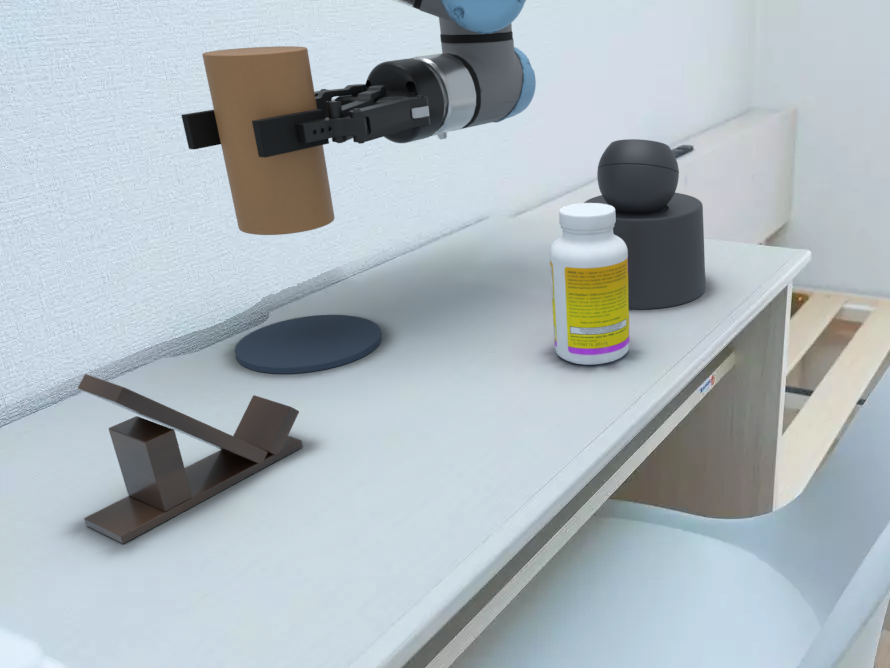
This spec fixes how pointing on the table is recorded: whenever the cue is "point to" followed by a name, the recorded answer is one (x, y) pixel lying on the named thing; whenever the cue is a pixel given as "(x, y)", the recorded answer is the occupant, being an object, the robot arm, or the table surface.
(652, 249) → the gray pot with base
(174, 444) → the roll stand
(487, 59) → the robot arm
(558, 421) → the table surface
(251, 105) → the paper roll
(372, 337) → the mat
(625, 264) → the supplement bottle
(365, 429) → the table surface
